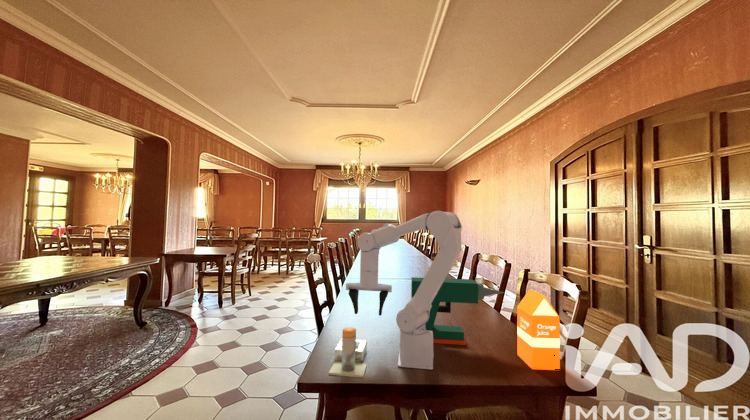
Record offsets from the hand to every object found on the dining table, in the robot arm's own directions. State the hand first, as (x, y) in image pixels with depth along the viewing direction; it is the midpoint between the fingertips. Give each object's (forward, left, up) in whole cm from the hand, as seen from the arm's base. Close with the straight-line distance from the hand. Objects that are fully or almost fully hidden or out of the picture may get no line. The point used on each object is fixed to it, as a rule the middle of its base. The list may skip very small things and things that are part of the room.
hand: (368, 313), depth 90 cm
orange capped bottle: (+3, +15, -10) cm, 18 cm away
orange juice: (-50, +1, -11) cm, 51 cm away
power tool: (-29, -11, -11) cm, 33 cm away
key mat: (+3, +15, -10) cm, 18 cm away
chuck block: (+4, +6, -10) cm, 13 cm away
